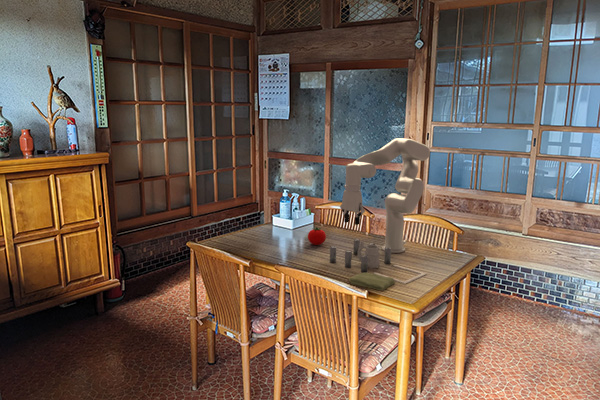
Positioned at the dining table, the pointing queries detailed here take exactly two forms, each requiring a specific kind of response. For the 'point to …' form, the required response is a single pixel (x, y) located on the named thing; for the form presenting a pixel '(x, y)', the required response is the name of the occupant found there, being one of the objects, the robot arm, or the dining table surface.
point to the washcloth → (372, 281)
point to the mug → (370, 254)
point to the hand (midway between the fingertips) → (351, 222)
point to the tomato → (316, 236)
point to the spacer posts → (363, 257)
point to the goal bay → (408, 270)
